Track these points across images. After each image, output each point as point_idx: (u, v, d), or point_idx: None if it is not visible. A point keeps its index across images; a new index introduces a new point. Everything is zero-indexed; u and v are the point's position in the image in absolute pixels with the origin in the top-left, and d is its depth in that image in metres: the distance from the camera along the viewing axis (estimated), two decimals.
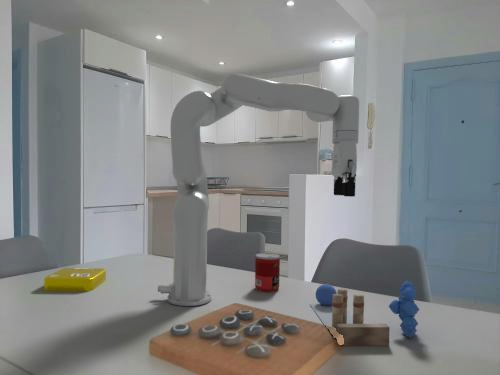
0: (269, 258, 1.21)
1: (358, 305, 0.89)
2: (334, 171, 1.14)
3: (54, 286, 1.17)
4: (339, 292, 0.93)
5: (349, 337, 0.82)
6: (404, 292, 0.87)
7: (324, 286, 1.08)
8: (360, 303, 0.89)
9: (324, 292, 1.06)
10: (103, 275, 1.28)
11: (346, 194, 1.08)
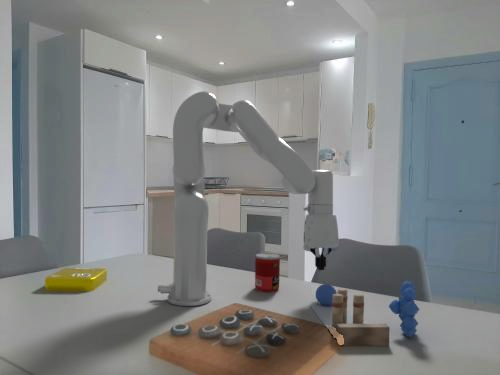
0: (269, 258, 1.21)
1: (358, 305, 0.89)
2: (320, 243, 1.15)
3: (55, 286, 1.17)
4: (339, 292, 0.93)
5: (349, 337, 0.82)
6: (404, 292, 0.87)
7: (324, 286, 1.08)
8: (360, 303, 0.89)
9: (324, 292, 1.06)
10: (104, 275, 1.28)
11: None
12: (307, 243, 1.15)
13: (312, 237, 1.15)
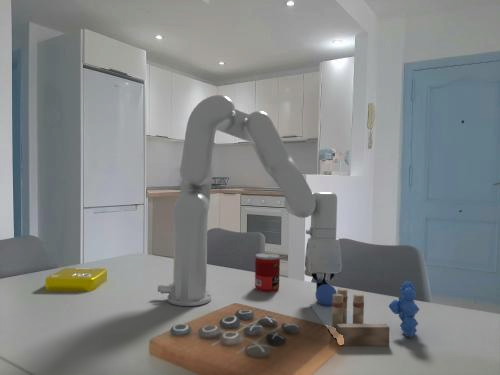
0: (269, 258, 1.21)
1: (358, 305, 0.89)
2: (322, 269, 1.11)
3: (56, 286, 1.17)
4: (339, 292, 0.93)
5: (349, 337, 0.82)
6: (404, 292, 0.87)
7: (324, 286, 1.08)
8: (360, 303, 0.89)
9: (324, 292, 1.06)
10: (104, 275, 1.28)
11: None
12: (309, 268, 1.10)
13: (314, 262, 1.10)
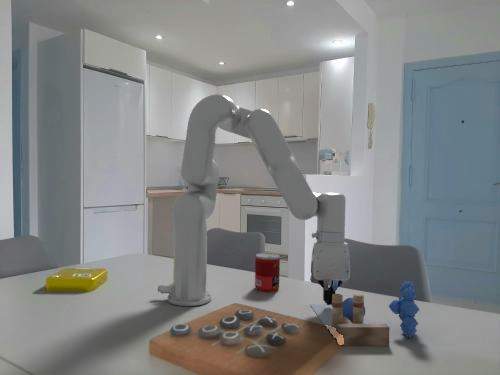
0: (269, 258, 1.21)
1: (358, 305, 0.89)
2: (329, 275, 1.03)
3: (56, 286, 1.17)
4: None
5: (349, 337, 0.82)
6: (404, 292, 0.87)
7: None
8: (360, 303, 0.89)
9: None
10: (105, 275, 1.28)
11: None
12: (315, 275, 1.03)
13: (321, 268, 1.03)
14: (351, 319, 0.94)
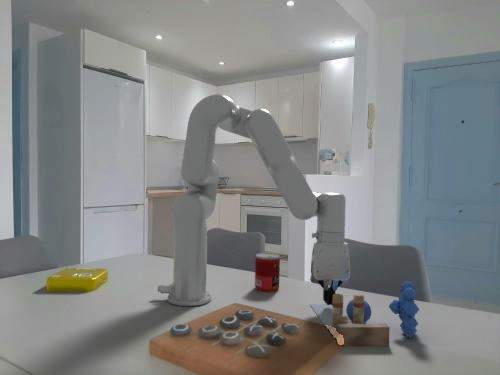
0: (269, 258, 1.21)
1: (358, 305, 0.89)
2: (329, 275, 1.03)
3: (57, 286, 1.17)
4: None
5: (349, 337, 0.82)
6: (404, 292, 0.87)
7: None
8: (360, 303, 0.89)
9: None
10: (105, 275, 1.28)
11: None
12: (315, 275, 1.03)
13: (321, 268, 1.03)
14: None
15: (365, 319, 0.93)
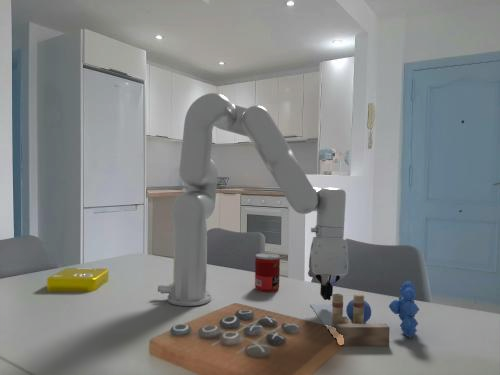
0: (269, 258, 1.21)
1: (358, 305, 0.89)
2: (327, 270, 1.03)
3: (57, 286, 1.17)
4: None
5: (349, 337, 0.82)
6: (404, 292, 0.87)
7: None
8: (360, 303, 0.89)
9: None
10: (106, 275, 1.28)
11: None
12: (313, 269, 1.03)
13: (319, 263, 1.03)
14: None
15: (365, 319, 0.93)
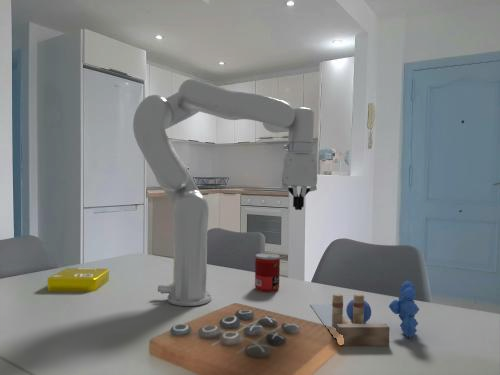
0: (269, 258, 1.21)
1: (358, 305, 0.89)
2: (298, 181, 1.14)
3: (58, 286, 1.17)
4: None
5: (349, 337, 0.82)
6: (404, 292, 0.87)
7: None
8: (360, 303, 0.89)
9: None
10: (106, 275, 1.28)
11: None
12: (285, 181, 1.14)
13: (290, 175, 1.13)
14: None
15: (365, 319, 0.93)
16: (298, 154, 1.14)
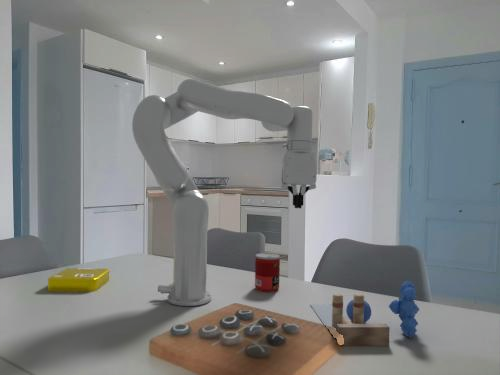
0: (269, 258, 1.21)
1: (358, 305, 0.89)
2: (297, 180, 1.14)
3: (58, 286, 1.17)
4: None
5: (349, 337, 0.82)
6: (404, 292, 0.87)
7: None
8: (360, 303, 0.89)
9: None
10: (107, 275, 1.28)
11: None
12: (284, 179, 1.14)
13: (289, 173, 1.14)
14: None
15: (365, 319, 0.93)
16: (297, 153, 1.14)
